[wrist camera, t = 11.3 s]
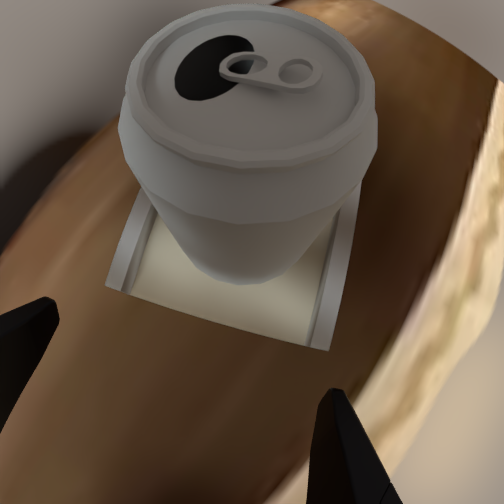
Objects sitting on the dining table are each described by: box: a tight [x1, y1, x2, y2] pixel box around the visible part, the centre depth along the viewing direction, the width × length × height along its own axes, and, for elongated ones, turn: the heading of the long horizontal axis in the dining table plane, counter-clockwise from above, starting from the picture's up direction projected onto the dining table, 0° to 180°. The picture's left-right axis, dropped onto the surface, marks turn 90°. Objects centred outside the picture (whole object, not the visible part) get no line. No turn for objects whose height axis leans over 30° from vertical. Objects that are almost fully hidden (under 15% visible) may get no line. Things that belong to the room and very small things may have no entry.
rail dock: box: [105, 180, 362, 351], centre depth 18 cm, size 12×12×2 cm
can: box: [118, 4, 378, 285], centre depth 12 cm, size 8×8×12 cm
